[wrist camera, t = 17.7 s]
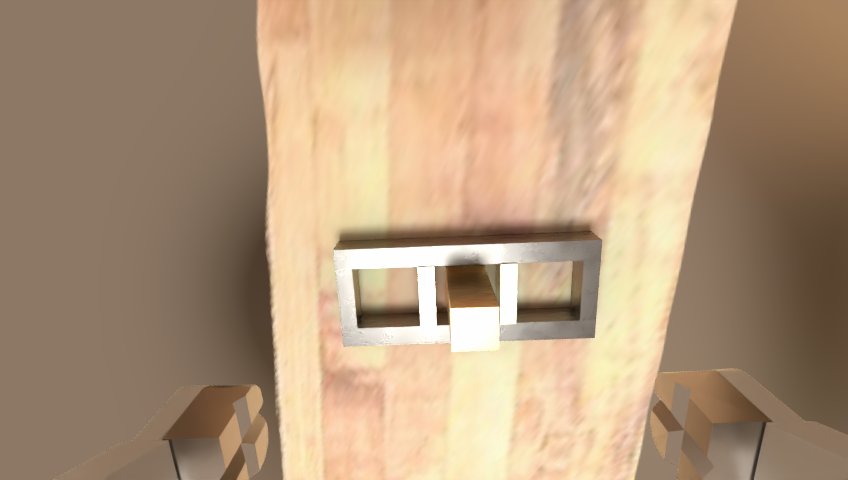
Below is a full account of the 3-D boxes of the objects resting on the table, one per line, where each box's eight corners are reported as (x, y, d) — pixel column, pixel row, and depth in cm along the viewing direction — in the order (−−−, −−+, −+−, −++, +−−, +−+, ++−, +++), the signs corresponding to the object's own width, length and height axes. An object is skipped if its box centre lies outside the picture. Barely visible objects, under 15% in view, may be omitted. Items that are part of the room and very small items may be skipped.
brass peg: (445, 266, 46) (450, 308, 36) (483, 264, 45) (499, 306, 36) (446, 301, 47) (451, 351, 37) (484, 300, 47) (498, 349, 37)
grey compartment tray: (339, 241, 45) (332, 250, 42) (590, 231, 44) (603, 240, 41) (348, 332, 48) (343, 347, 45) (584, 323, 47) (595, 338, 44)
